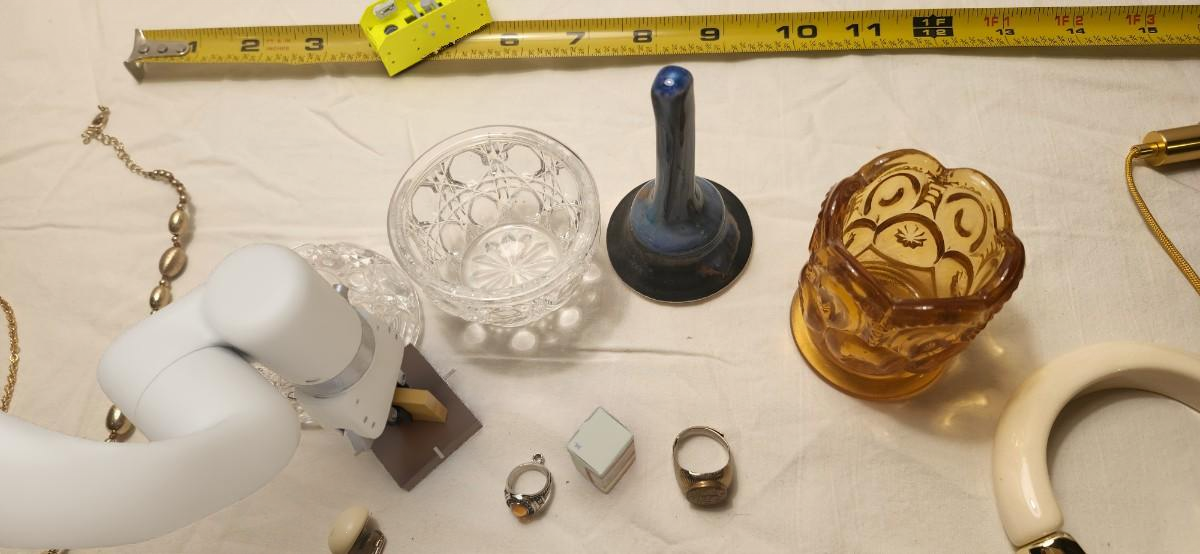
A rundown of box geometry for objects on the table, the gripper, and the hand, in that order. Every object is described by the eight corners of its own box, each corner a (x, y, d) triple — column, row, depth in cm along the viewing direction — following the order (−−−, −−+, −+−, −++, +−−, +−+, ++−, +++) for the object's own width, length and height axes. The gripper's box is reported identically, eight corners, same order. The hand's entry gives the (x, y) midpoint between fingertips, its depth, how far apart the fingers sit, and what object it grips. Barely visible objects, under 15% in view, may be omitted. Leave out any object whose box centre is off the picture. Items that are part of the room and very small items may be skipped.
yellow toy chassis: (475, 2, 105) (460, -46, 98) (495, 26, 103) (481, -21, 96) (376, 55, 103) (352, 10, 95) (393, 81, 101) (370, 37, 93)
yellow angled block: (448, 409, 77) (427, 389, 71) (445, 422, 77) (424, 403, 70) (366, 400, 79) (339, 380, 72) (363, 413, 78) (335, 394, 72)
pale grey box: (607, 496, 75) (598, 478, 66) (574, 468, 76) (561, 447, 67) (640, 456, 76) (635, 433, 67) (607, 429, 78) (598, 403, 68)
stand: (498, 419, 79) (492, 413, 77) (399, 507, 76) (390, 503, 74) (425, 336, 84) (418, 328, 82) (330, 416, 81) (319, 409, 79)
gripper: (310, 258, 64) (385, 334, 80) (251, 438, 57) (346, 481, 74) (393, 264, 63) (452, 340, 79) (343, 449, 56) (418, 490, 73)
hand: (400, 408), depth 76 cm, fingers closed
